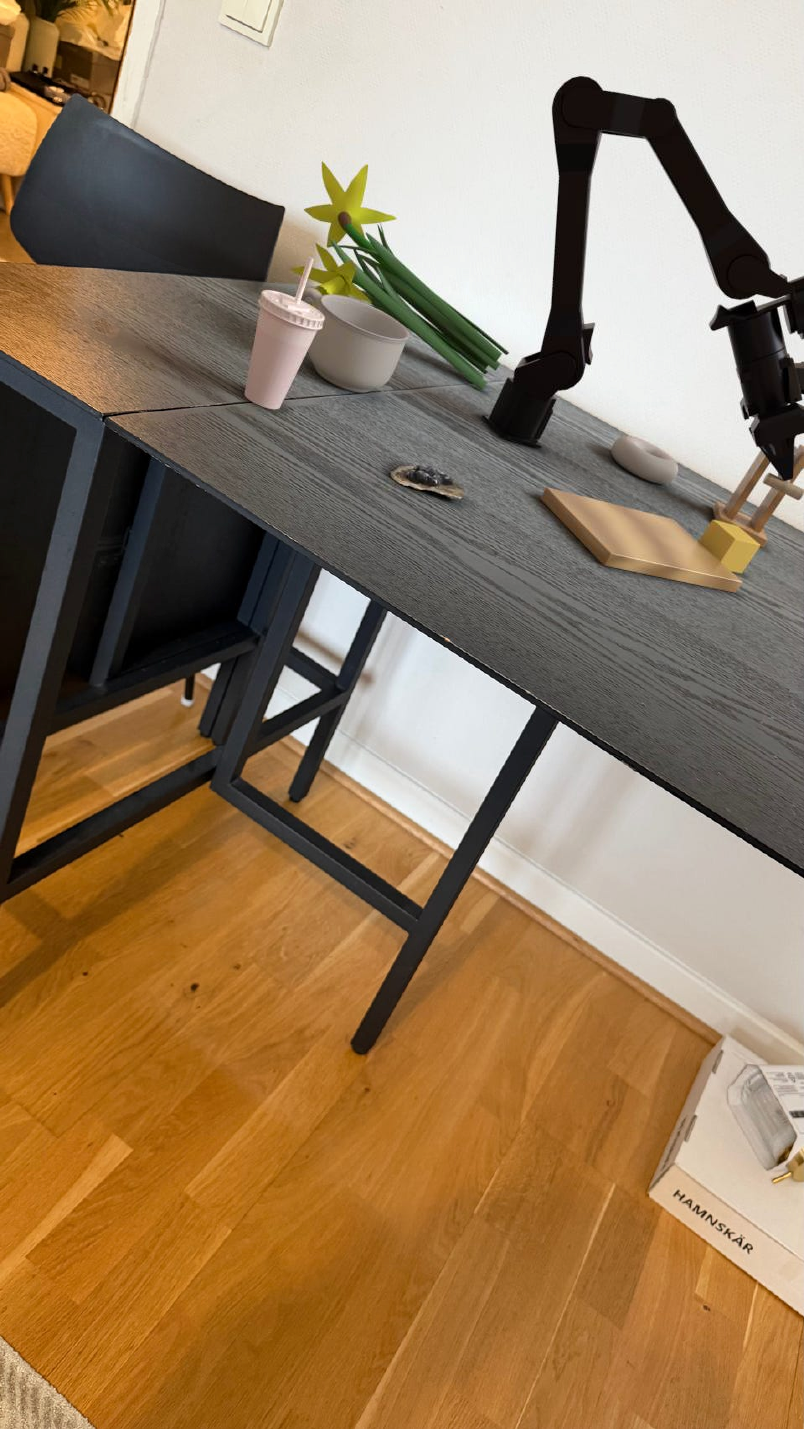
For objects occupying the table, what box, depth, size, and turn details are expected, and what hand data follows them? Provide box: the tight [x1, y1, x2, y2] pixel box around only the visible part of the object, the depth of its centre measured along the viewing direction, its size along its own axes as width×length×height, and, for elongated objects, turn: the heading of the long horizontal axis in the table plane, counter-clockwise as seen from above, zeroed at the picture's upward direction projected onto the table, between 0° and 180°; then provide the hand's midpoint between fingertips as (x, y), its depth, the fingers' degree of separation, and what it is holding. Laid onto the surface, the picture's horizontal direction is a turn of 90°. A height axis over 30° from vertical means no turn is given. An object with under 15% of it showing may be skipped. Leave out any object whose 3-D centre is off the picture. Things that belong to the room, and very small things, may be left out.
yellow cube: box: [698, 519, 761, 574], centre depth 113 cm, size 4×4×4 cm
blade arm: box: [762, 445, 804, 501], centre depth 122 cm, size 11×5×2 cm, turn 167°
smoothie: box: [244, 256, 325, 410], centre depth 91 cm, size 6×6×14 cm
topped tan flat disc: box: [390, 464, 466, 501], centre depth 93 cm, size 7×8×2 cm
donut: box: [611, 435, 679, 485], centre depth 134 cm, size 10×3×10 cm
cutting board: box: [540, 486, 743, 594], centre depth 106 cm, size 20×14×2 cm
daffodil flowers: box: [289, 161, 510, 392], centre depth 132 cm, size 17×15×35 cm
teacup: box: [301, 287, 410, 394], centre depth 110 cm, size 14×11×8 cm
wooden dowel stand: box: [712, 443, 804, 549], centre depth 128 cm, size 8×7×13 cm
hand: (788, 479), depth 118 cm, fingers closed, pressing on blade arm
